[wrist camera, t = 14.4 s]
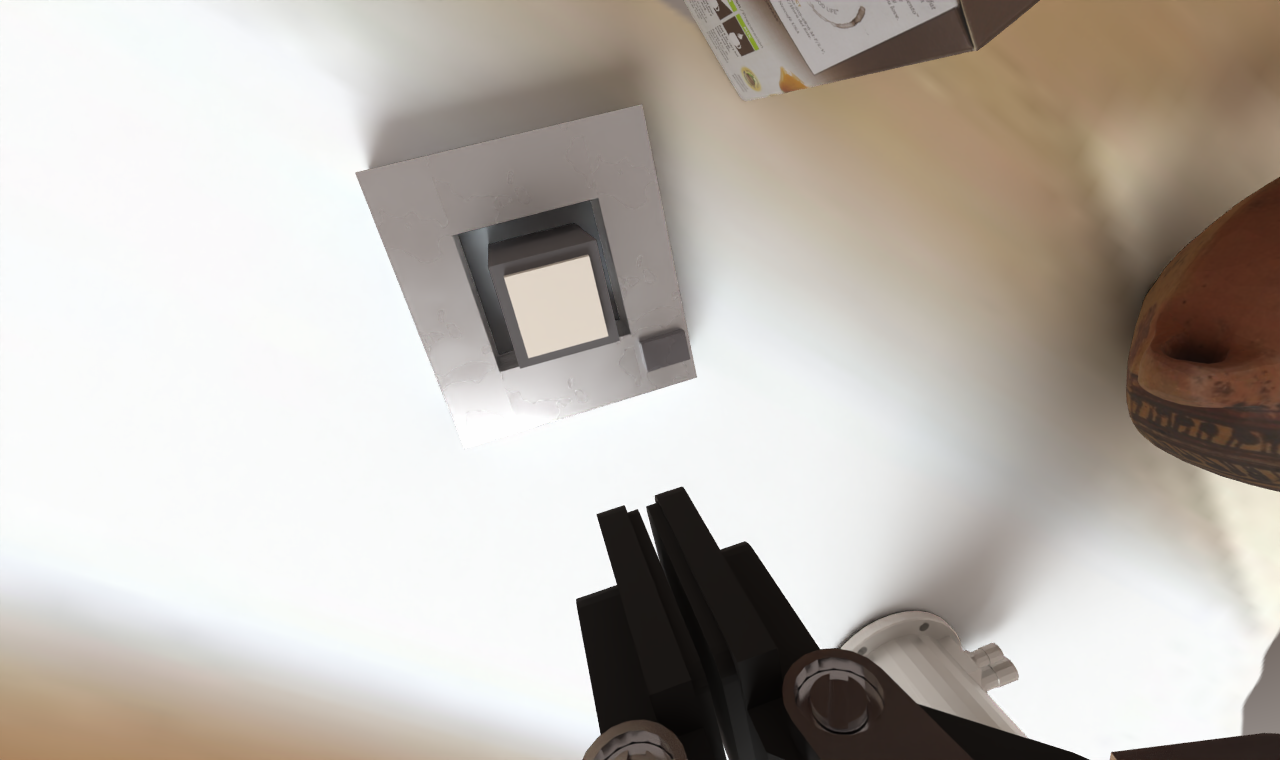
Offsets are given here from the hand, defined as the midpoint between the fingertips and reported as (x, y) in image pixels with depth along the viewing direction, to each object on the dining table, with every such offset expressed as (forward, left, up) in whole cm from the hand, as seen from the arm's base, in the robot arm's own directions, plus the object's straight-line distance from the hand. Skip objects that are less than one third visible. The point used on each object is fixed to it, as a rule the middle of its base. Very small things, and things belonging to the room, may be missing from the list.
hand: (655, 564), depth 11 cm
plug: (0, -1, -23) cm, 23 cm away
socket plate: (0, -1, -23) cm, 23 cm away
